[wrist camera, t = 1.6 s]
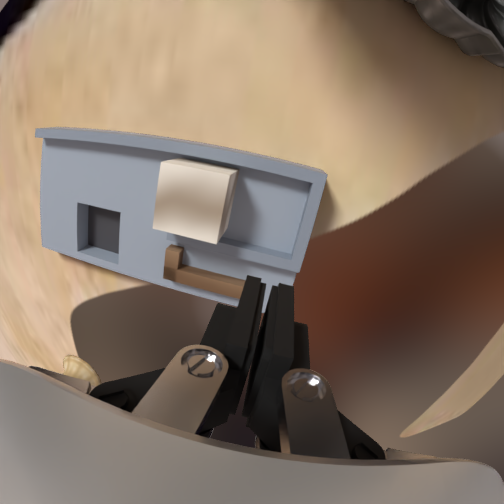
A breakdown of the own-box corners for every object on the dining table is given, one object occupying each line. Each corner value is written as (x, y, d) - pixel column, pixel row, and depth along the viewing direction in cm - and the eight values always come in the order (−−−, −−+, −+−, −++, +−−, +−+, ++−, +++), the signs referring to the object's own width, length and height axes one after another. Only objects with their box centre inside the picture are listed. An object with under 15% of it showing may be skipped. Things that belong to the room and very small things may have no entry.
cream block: (180, 157, 25) (160, 161, 21) (239, 169, 25) (229, 175, 21) (172, 214, 28) (152, 228, 23) (227, 227, 27) (216, 244, 23)
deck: (57, 126, 28) (35, 128, 24) (322, 170, 27) (327, 174, 23) (53, 239, 33) (34, 250, 30) (283, 304, 33) (281, 325, 29)
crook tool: (171, 243, 29) (165, 249, 27) (260, 266, 28) (258, 272, 27) (167, 272, 30) (162, 278, 29) (253, 294, 30) (251, 302, 28)
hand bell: (108, 381, 42) (64, 450, 28) (91, 394, 45) (52, 454, 30) (72, 347, 41) (19, 411, 26) (59, 364, 44) (13, 420, 29)
